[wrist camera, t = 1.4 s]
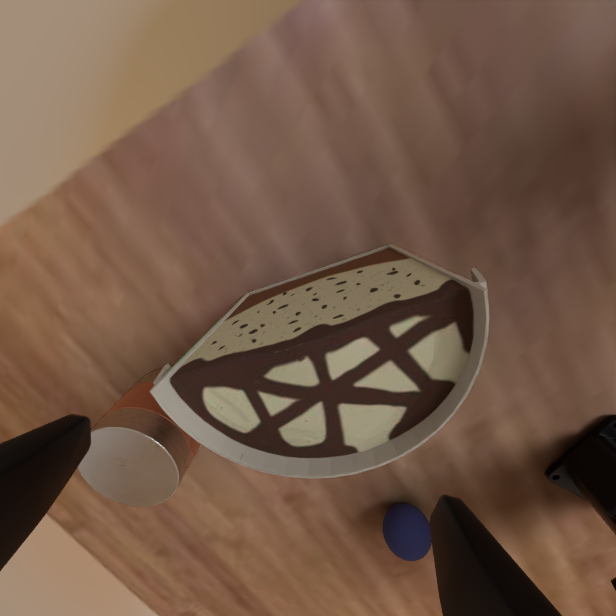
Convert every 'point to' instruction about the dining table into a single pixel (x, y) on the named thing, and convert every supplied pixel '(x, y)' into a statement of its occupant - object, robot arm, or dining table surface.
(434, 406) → the food container
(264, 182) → the dining table surface
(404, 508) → the blue ball
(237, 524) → the dining table surface
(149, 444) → the tin can
